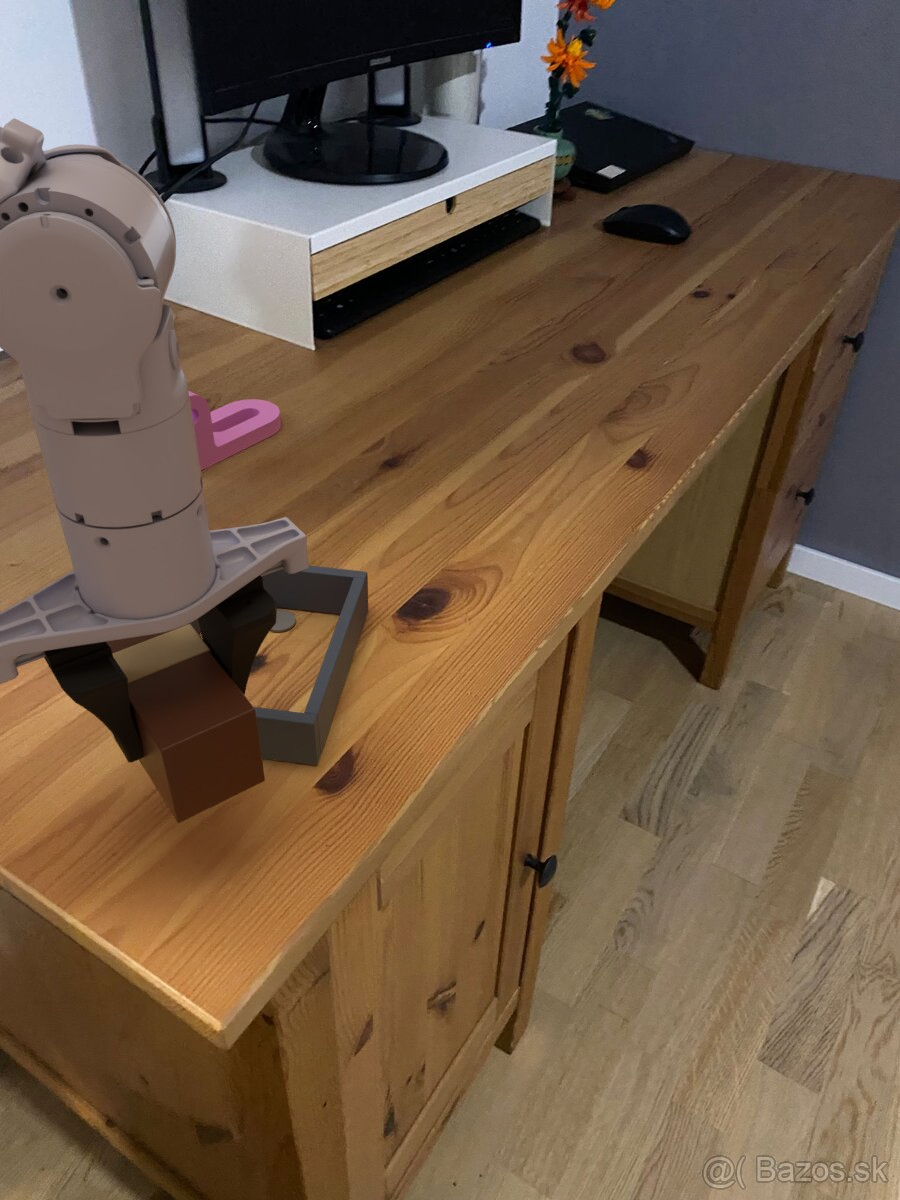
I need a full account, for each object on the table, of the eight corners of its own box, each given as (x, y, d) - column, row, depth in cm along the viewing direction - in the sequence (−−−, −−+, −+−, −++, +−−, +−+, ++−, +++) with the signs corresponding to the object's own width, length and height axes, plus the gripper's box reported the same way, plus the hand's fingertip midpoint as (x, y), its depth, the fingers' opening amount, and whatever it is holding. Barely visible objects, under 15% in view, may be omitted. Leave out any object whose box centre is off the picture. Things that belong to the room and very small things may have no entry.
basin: (126, 741, 54) (115, 699, 52) (210, 592, 65) (203, 553, 63) (317, 766, 53) (314, 724, 51) (368, 611, 64) (367, 571, 62)
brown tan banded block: (177, 825, 42) (159, 751, 39) (106, 711, 48) (86, 637, 45) (266, 781, 44) (256, 707, 41) (189, 676, 50) (175, 604, 47)
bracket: (183, 479, 78) (171, 404, 73) (142, 457, 80) (127, 384, 76) (293, 424, 86) (287, 354, 81) (252, 407, 88) (244, 338, 84)
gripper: (248, 407, 43) (273, 628, 51) (-89, 498, 36) (4, 737, 44) (324, 471, 38) (338, 702, 47) (-42, 589, 31) (52, 835, 40)
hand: (180, 725), depth 45 cm, fingers closed on brown tan banded block, 4 cm apart
